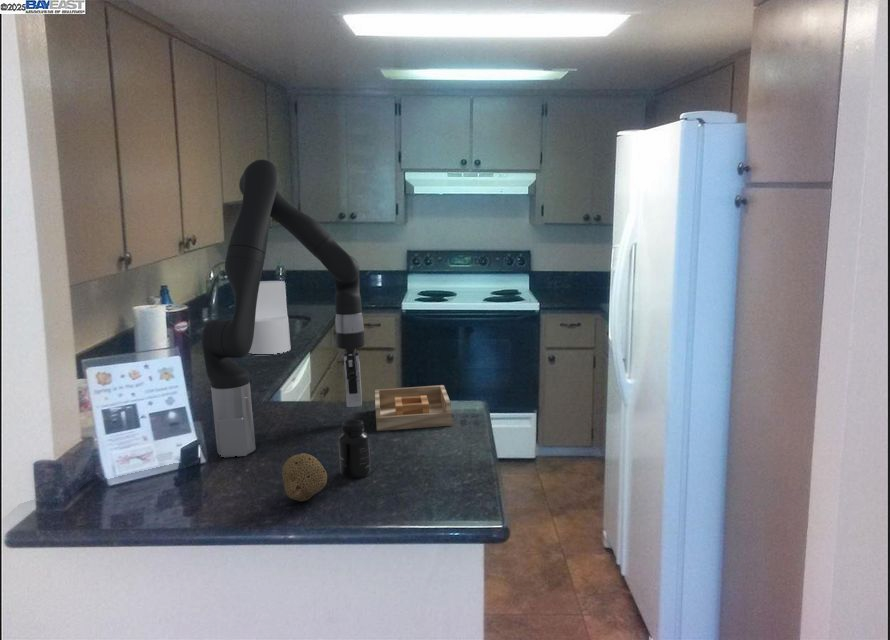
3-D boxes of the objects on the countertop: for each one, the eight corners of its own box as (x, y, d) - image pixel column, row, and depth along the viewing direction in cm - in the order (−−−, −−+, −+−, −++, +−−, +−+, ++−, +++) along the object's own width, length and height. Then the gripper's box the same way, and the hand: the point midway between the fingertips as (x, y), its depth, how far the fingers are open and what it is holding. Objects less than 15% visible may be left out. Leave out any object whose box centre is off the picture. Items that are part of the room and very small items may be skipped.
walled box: (452, 425, 201) (451, 403, 200) (376, 430, 199) (375, 409, 198) (444, 404, 221) (443, 385, 220) (376, 409, 219) (374, 389, 218)
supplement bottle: (334, 477, 168) (330, 425, 166) (352, 466, 174) (348, 416, 172) (360, 481, 165) (356, 428, 163) (377, 470, 171) (373, 419, 169)
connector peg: (361, 406, 205) (358, 363, 203) (346, 407, 205) (344, 363, 203) (362, 402, 209) (359, 359, 207) (347, 403, 209) (344, 360, 207)
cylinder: (244, 349, 315) (238, 283, 311) (285, 344, 322) (280, 279, 318) (252, 357, 300) (246, 287, 295) (295, 351, 307) (289, 283, 302)
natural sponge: (330, 490, 160) (327, 445, 158) (325, 508, 151) (322, 460, 150) (287, 493, 160) (284, 448, 158) (280, 510, 151) (276, 463, 149)
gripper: (363, 333, 197) (366, 397, 199) (364, 324, 211) (368, 384, 213) (334, 334, 196) (338, 398, 199) (337, 326, 210) (341, 386, 213)
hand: (353, 391), depth 206 cm, fingers closed on connector peg, 4 cm apart
